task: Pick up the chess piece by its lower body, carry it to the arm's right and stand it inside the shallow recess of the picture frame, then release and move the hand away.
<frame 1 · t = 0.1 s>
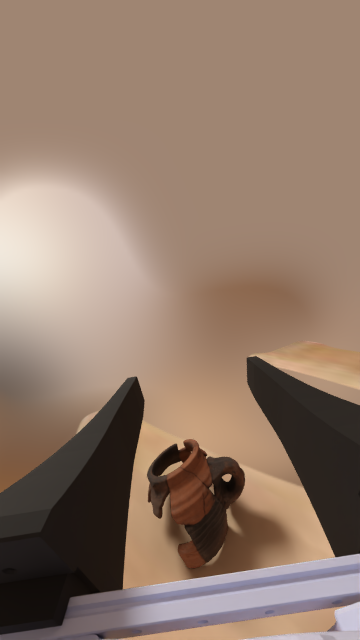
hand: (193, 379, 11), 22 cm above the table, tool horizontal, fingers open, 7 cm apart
pottery mug: (199, 503, 22), on the table
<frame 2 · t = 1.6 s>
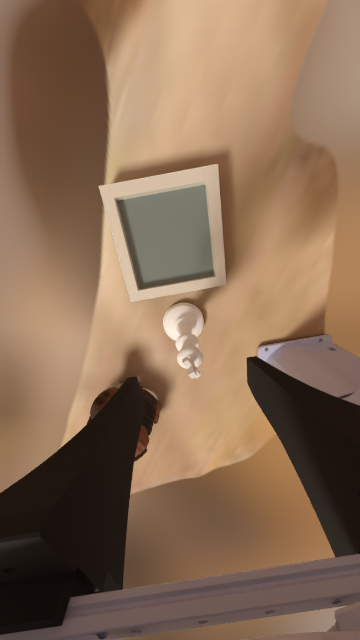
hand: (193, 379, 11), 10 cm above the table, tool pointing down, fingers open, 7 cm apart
chess piece: (183, 321, 21), on the table
pottery mug: (125, 402, 25), on the table
picture frame: (169, 242, 18), on the table
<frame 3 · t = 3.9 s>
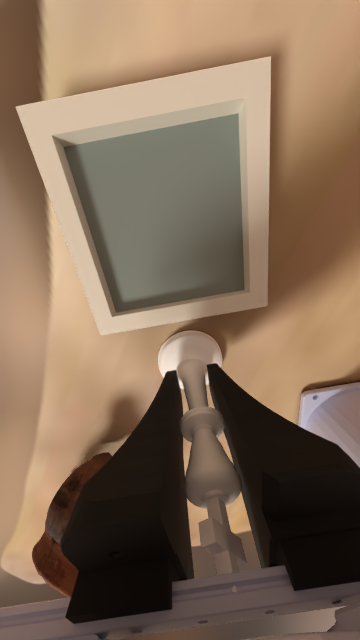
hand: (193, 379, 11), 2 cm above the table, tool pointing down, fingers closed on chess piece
chess piece: (189, 357, 14), on the table, touching gripper
pottery mug: (113, 464, 18), on the table
picture frame: (167, 232, 10), on the table
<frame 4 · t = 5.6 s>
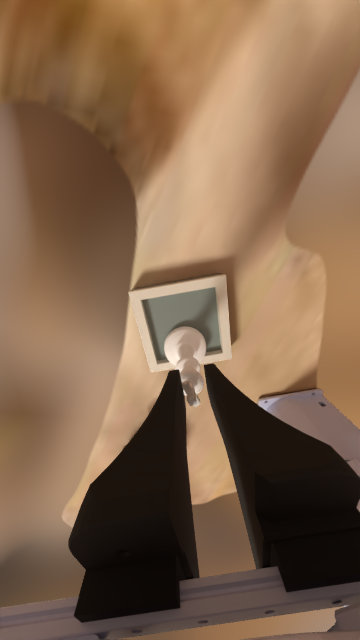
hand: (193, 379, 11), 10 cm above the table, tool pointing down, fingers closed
chess piece: (185, 346, 20), point 2 cm above the table, touching picture frame, gripper
picture frame: (183, 322, 21), on the table
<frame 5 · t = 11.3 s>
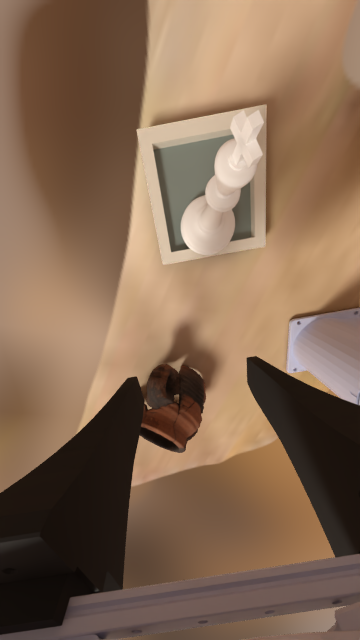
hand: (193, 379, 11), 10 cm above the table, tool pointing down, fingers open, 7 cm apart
chess piece: (206, 228, 16), point 1 cm above the table, touching picture frame
pottery mug: (169, 383, 24), on the table
picture frame: (204, 201, 17), on the table
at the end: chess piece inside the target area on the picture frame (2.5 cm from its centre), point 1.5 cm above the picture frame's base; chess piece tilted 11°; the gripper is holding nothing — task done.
